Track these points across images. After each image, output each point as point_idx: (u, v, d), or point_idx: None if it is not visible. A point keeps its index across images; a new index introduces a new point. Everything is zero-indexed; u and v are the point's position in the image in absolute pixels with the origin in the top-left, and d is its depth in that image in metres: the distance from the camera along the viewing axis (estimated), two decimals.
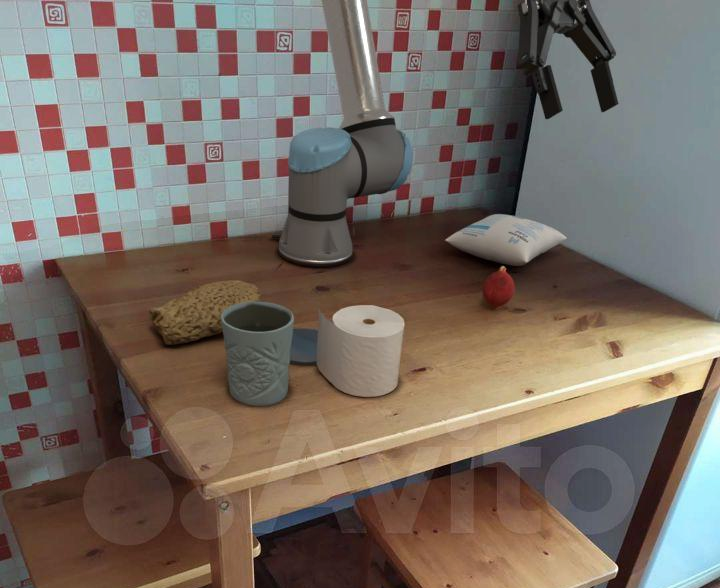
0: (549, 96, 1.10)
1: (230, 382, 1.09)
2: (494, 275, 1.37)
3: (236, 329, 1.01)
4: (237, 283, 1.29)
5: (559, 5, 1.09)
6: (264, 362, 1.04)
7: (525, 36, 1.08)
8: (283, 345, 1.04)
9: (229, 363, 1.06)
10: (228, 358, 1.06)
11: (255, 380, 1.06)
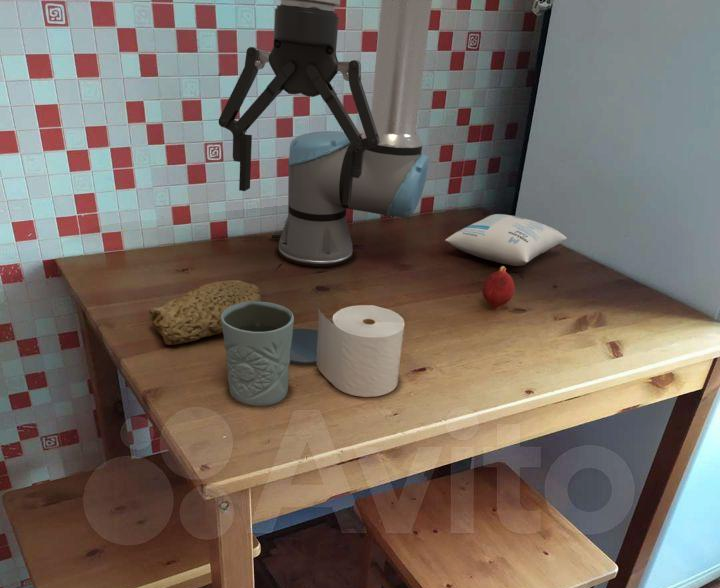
0: None
1: (230, 382, 1.09)
2: (494, 275, 1.37)
3: (236, 329, 1.01)
4: (237, 283, 1.29)
5: (286, 70, 0.90)
6: (264, 362, 1.04)
7: None
8: (283, 345, 1.04)
9: (229, 363, 1.06)
10: (228, 358, 1.06)
11: (255, 380, 1.06)
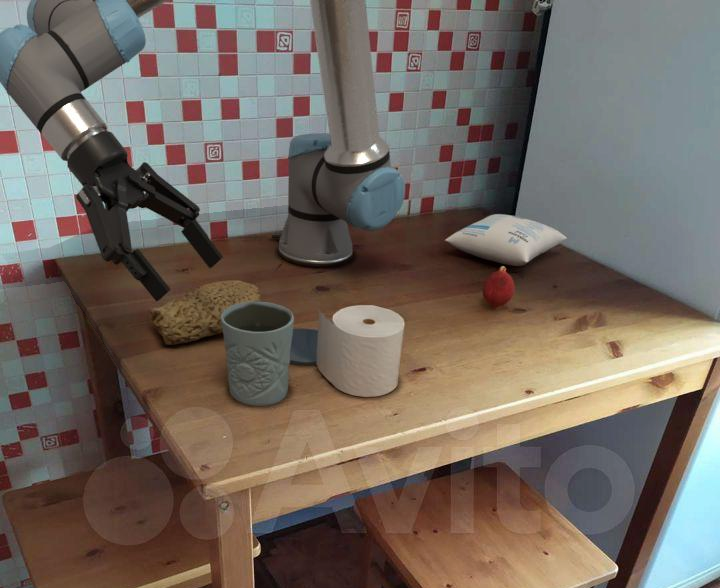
0: None
1: (230, 382, 1.09)
2: (494, 275, 1.37)
3: (236, 329, 1.01)
4: (237, 283, 1.29)
5: None
6: (264, 362, 1.04)
7: None
8: (283, 345, 1.04)
9: (229, 363, 1.06)
10: (228, 358, 1.06)
11: (255, 380, 1.06)
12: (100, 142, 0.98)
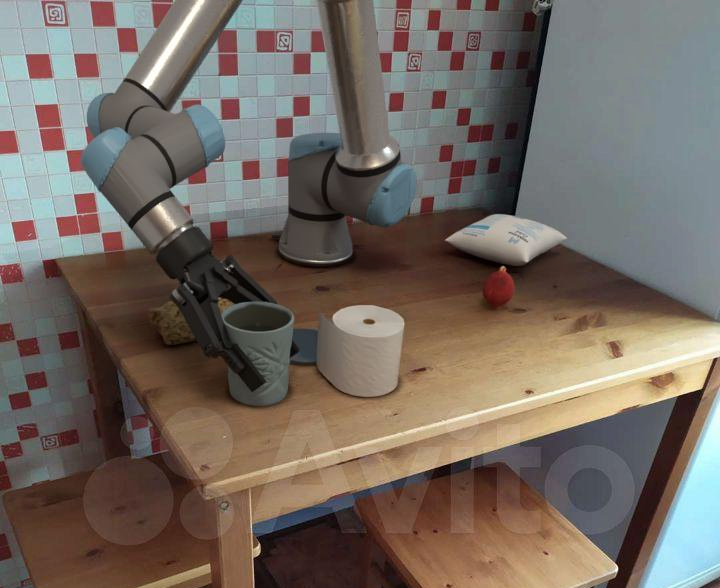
0: None
1: (230, 382, 1.09)
2: (494, 275, 1.37)
3: (236, 329, 1.01)
4: None
5: None
6: (264, 362, 1.04)
7: None
8: (283, 345, 1.04)
9: None
10: None
11: None
12: (189, 239, 1.01)
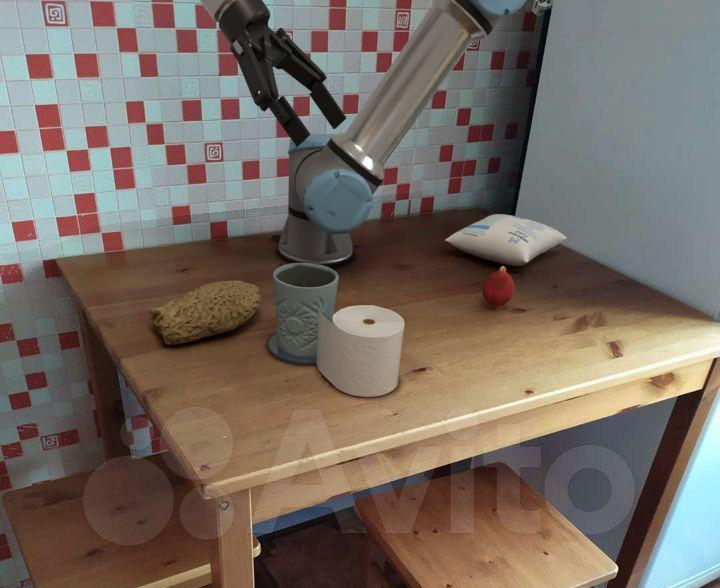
0: None
1: (279, 336, 1.20)
2: (494, 275, 1.37)
3: (288, 285, 1.13)
4: (238, 283, 1.29)
5: None
6: (312, 316, 1.15)
7: None
8: (329, 300, 1.16)
9: (279, 318, 1.18)
10: (278, 313, 1.18)
11: (303, 333, 1.17)
12: (251, 0, 1.10)
